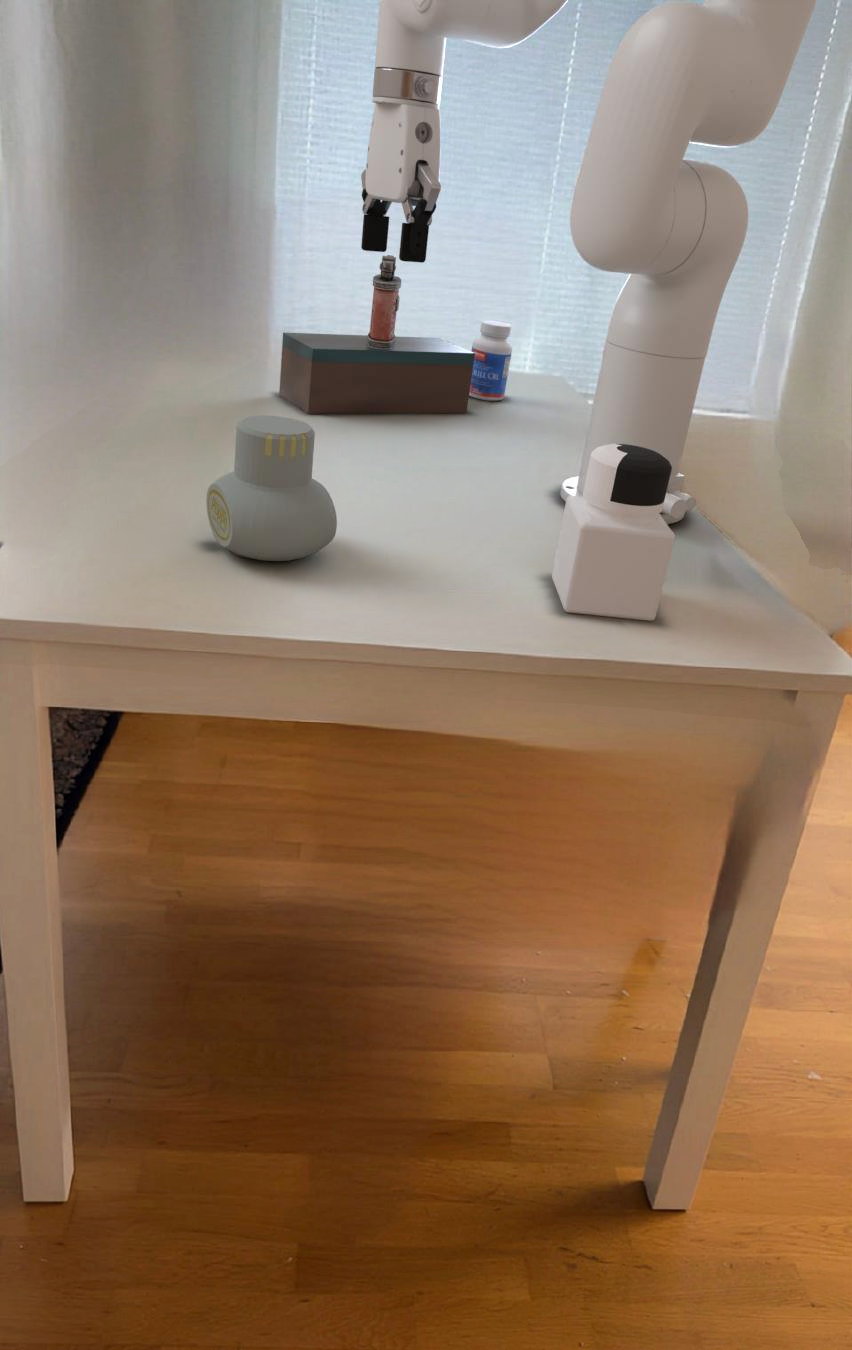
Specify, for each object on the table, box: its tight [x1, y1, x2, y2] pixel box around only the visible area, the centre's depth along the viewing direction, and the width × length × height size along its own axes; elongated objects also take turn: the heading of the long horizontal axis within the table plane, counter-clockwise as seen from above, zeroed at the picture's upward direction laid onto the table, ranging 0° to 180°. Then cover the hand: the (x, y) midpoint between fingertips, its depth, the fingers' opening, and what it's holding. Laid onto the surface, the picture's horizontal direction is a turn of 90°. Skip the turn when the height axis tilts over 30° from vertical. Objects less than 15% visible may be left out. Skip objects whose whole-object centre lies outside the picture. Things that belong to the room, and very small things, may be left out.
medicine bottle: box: [551, 444, 676, 622], centre depth 81 cm, size 7×7×12 cm
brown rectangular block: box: [278, 332, 475, 415], centre depth 132 cm, size 9×22×8 cm, turn 119°
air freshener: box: [206, 415, 338, 562], centre depth 82 cm, size 11×8×10 cm
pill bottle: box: [469, 319, 513, 402], centre depth 144 cm, size 6×5×10 cm
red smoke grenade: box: [367, 254, 402, 349], centre depth 128 cm, size 8×3×10 cm, turn 179°
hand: (392, 256), depth 126 cm, fingers open, 9 cm apart
